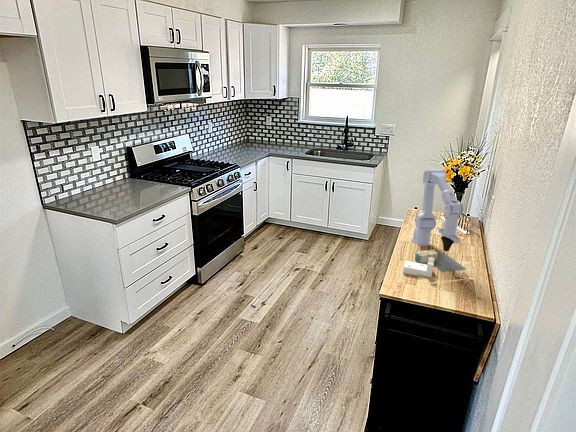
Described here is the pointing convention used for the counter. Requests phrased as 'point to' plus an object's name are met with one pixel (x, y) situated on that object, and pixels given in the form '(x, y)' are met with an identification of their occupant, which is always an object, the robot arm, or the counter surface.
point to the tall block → (426, 255)
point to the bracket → (419, 268)
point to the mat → (447, 263)
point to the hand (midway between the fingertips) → (446, 250)
